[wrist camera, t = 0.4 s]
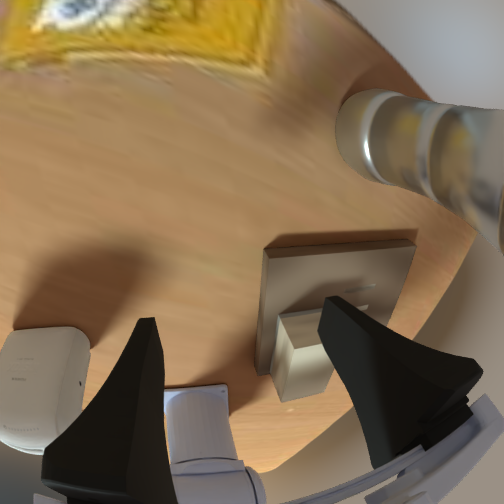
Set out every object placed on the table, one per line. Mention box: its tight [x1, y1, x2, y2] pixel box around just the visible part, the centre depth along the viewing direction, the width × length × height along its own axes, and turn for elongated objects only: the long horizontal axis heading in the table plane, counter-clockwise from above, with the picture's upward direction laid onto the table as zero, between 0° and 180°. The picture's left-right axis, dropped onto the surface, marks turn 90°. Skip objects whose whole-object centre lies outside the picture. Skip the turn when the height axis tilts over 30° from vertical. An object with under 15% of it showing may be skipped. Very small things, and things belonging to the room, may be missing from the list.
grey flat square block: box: [254, 239, 417, 376], centre depth 25 cm, size 14×15×2 cm
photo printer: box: [0, 327, 91, 455], centre depth 15 cm, size 10×4×12 cm, turn 92°
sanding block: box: [270, 308, 334, 402], centre depth 23 cm, size 8×4×4 cm, turn 177°
